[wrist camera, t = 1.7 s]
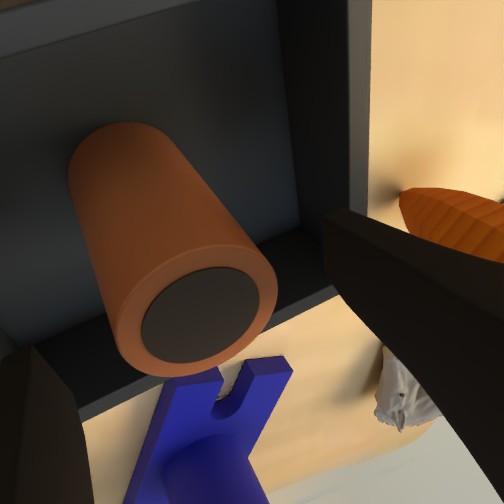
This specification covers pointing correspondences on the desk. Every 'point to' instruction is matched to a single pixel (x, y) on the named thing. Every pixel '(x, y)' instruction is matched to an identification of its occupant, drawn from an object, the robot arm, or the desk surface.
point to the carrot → (455, 220)
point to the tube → (166, 254)
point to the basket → (186, 140)
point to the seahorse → (402, 396)
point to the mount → (208, 437)
